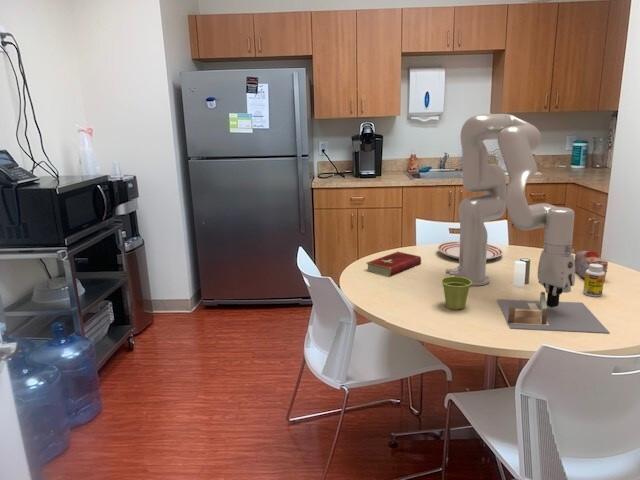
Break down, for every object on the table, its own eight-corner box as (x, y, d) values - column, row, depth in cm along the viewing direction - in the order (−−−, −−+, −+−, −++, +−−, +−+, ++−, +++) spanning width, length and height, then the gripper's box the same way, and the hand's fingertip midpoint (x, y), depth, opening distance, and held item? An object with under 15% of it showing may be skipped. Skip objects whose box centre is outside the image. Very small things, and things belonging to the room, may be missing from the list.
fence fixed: (508, 324, 138) (509, 308, 137) (507, 321, 140) (508, 306, 138) (546, 325, 136) (548, 310, 135) (545, 323, 138) (546, 308, 136)
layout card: (510, 328, 135) (510, 327, 135) (497, 300, 156) (497, 299, 156) (609, 333, 130) (609, 332, 130) (582, 303, 151) (582, 302, 151)
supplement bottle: (585, 296, 157) (588, 267, 154) (581, 290, 162) (584, 262, 159) (603, 297, 155) (607, 268, 152) (599, 292, 160) (603, 263, 157)
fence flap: (546, 321, 138) (547, 308, 137) (541, 320, 138) (542, 308, 137) (543, 303, 150) (545, 292, 149) (539, 303, 150) (540, 291, 149)
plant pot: (466, 314, 146) (467, 288, 143) (436, 308, 150) (437, 283, 148) (473, 304, 153) (475, 279, 151) (445, 299, 158) (446, 274, 156)
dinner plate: (498, 248, 217) (498, 241, 216) (507, 266, 191) (507, 258, 190) (436, 246, 223) (437, 239, 222) (437, 263, 197) (437, 256, 196)
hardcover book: (421, 265, 196) (421, 255, 195) (390, 278, 182) (390, 267, 181) (397, 260, 204) (397, 250, 203) (366, 271, 190) (366, 261, 189)
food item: (609, 283, 168) (612, 256, 166) (586, 283, 169) (589, 257, 166) (590, 271, 181) (593, 246, 179) (569, 271, 182) (571, 246, 179)
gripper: (588, 252, 136) (582, 311, 140) (545, 242, 149) (541, 296, 153) (570, 256, 133) (565, 316, 137) (528, 245, 146) (524, 300, 150)
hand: (552, 305), depth 145 cm, fingers closed
